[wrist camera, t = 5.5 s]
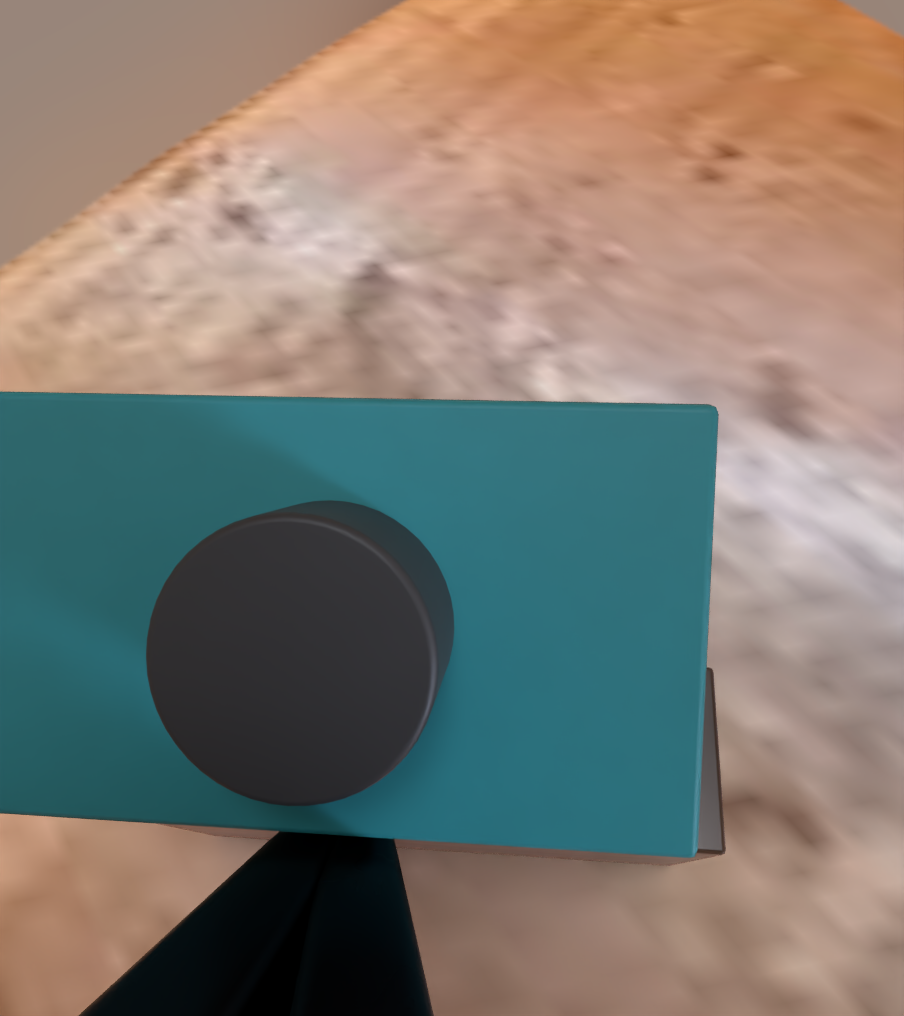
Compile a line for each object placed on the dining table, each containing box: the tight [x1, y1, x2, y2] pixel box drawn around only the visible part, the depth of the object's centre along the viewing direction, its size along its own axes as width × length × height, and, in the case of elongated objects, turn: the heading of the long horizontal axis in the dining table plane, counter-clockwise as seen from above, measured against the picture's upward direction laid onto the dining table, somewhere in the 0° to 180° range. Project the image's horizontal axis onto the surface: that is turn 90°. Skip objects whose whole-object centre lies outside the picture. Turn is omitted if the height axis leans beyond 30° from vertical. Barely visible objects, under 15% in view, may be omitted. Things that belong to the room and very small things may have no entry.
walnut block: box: [156, 667, 726, 866], centre depth 16 cm, size 3×10×5 cm, turn 86°
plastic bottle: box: [0, 392, 718, 858], centre depth 14 cm, size 10×7×14 cm, turn 176°
